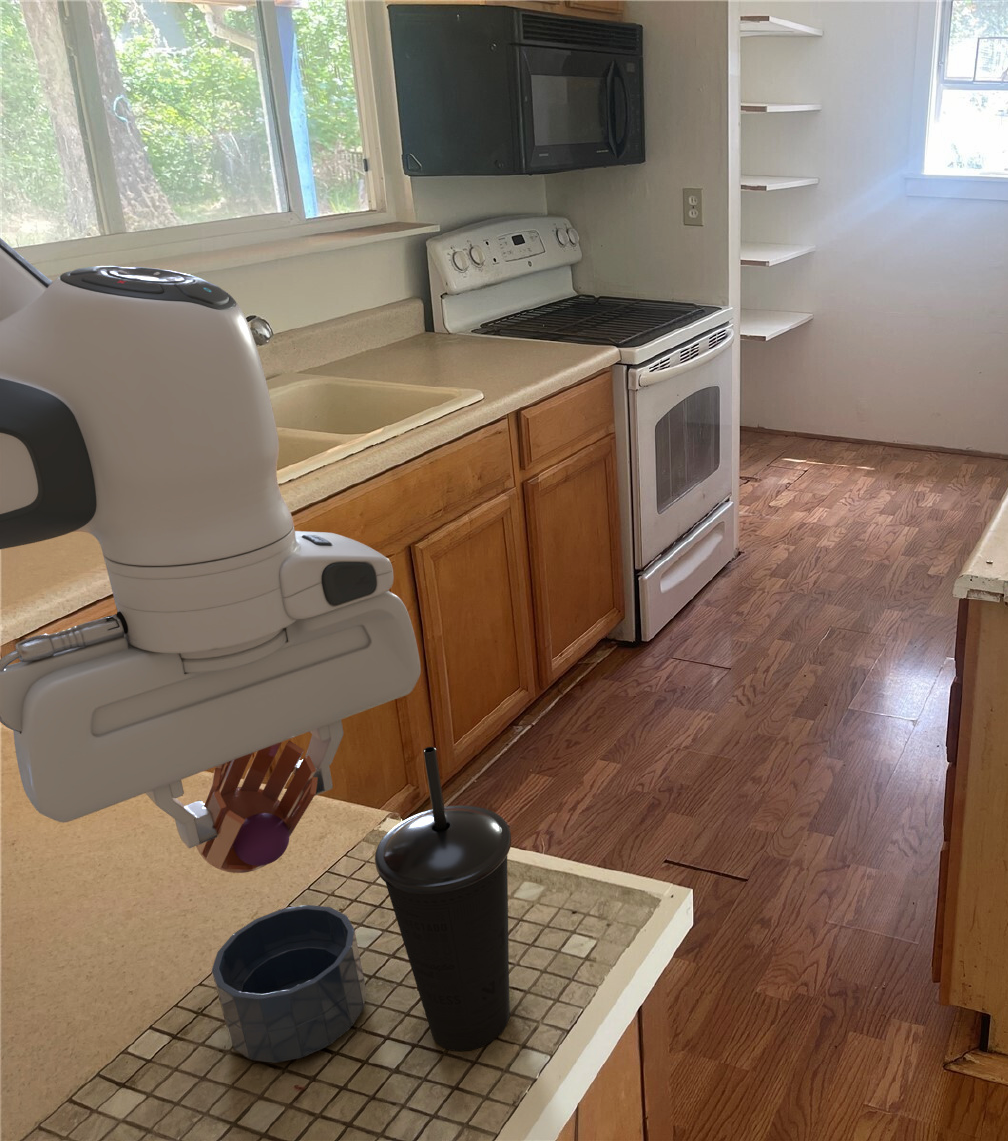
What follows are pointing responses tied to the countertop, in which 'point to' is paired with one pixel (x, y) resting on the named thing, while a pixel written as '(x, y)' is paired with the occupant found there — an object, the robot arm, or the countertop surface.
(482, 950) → the drinking cup
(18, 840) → the countertop surface
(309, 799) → the slatted pencil cup
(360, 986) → the bowl
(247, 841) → the ball
